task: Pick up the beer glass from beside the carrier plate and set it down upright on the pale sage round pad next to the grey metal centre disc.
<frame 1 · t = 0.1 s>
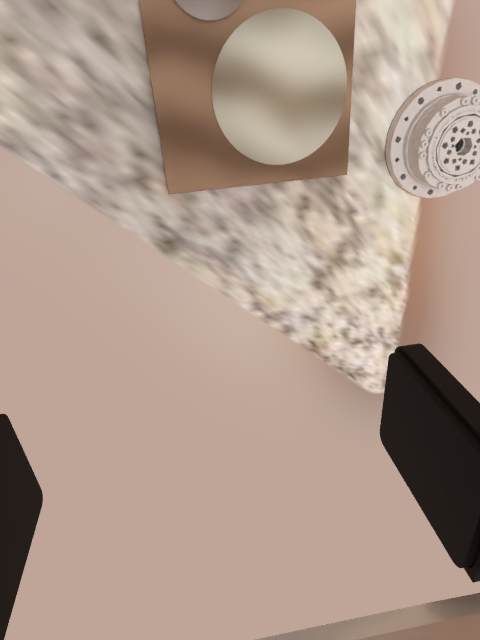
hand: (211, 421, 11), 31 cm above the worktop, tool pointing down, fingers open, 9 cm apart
mechanical component: (434, 139, 40), on the worktop
carrier plate: (250, 51, 34), on the worktop
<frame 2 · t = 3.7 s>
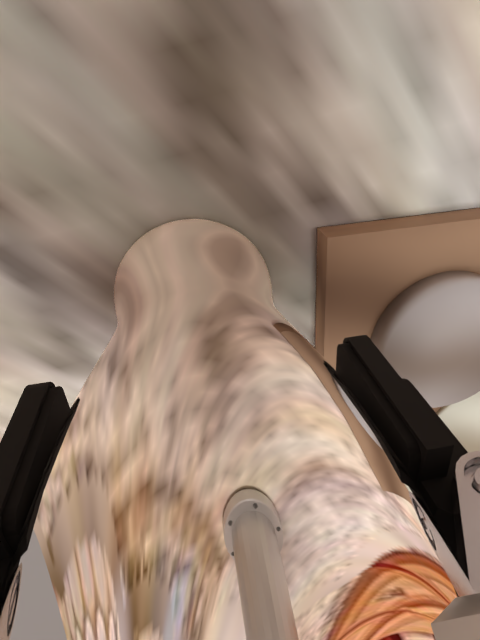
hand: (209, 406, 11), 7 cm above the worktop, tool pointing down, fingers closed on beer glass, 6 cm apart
beer glass: (193, 290, 17), on the worktop, touching gripper
carrier plate: (463, 396, 22), on the worktop
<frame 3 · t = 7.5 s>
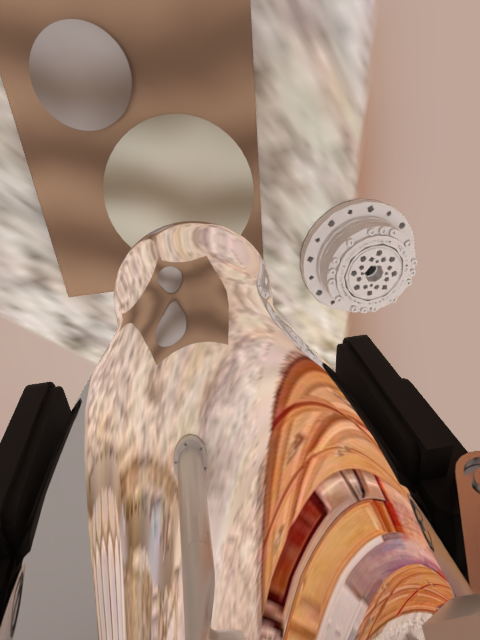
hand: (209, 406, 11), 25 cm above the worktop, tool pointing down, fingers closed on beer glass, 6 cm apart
beer glass: (193, 292, 17), point 18 cm above the worktop, touching gripper
mechanical component: (352, 253, 38), on the worktop
carrier plate: (146, 153, 31), on the worktop
when the fingers open (9 cm above the worktop, at t = 11.3 s): beer glass stays where it is, resting on carrier plate.
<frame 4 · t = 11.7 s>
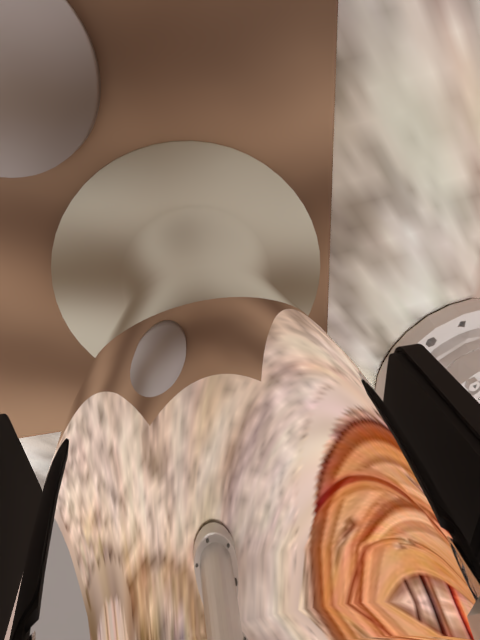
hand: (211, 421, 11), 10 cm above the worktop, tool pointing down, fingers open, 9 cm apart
beer glass: (196, 277, 18), point 1 cm above the worktop, touching carrier plate
mechanical component: (451, 369, 25), on the worktop
carrier plate: (131, 208, 17), on the worktop
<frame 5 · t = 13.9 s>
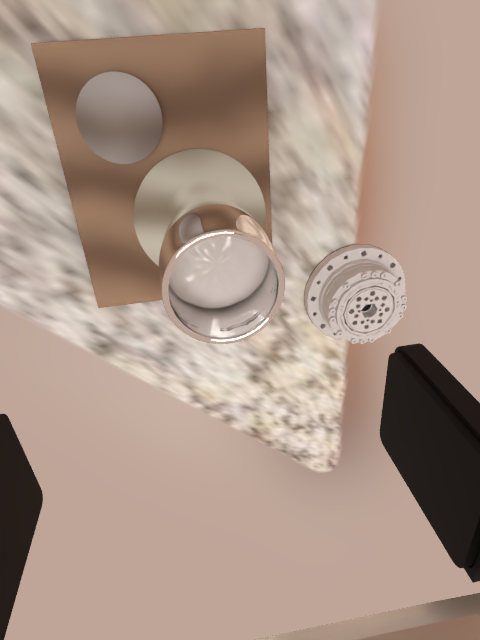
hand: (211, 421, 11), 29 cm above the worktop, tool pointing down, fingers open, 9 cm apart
beer glass: (203, 216, 36), point 1 cm above the worktop, touching carrier plate
mechanical component: (350, 289, 43), on the worktop
carrier plate: (171, 181, 35), on the worktop
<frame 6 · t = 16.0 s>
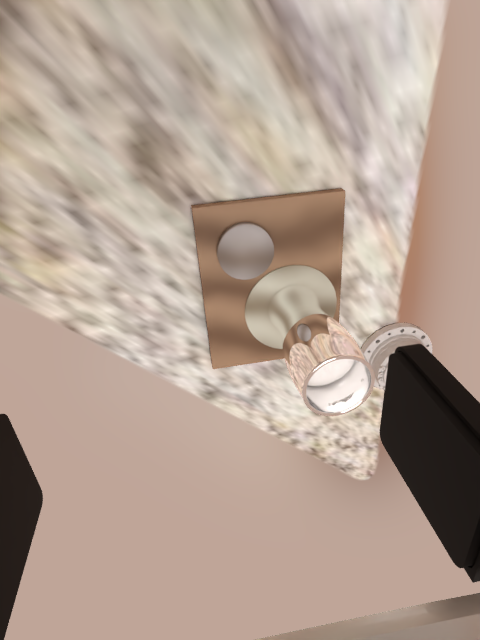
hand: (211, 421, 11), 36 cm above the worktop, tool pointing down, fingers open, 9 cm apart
beer glass: (292, 307, 50), point 1 cm above the worktop, touching carrier plate
mechanical component: (391, 352, 58), on the worktop
carrier plate: (271, 283, 50), on the worktop
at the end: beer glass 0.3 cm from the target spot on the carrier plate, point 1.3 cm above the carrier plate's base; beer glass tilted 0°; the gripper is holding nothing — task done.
